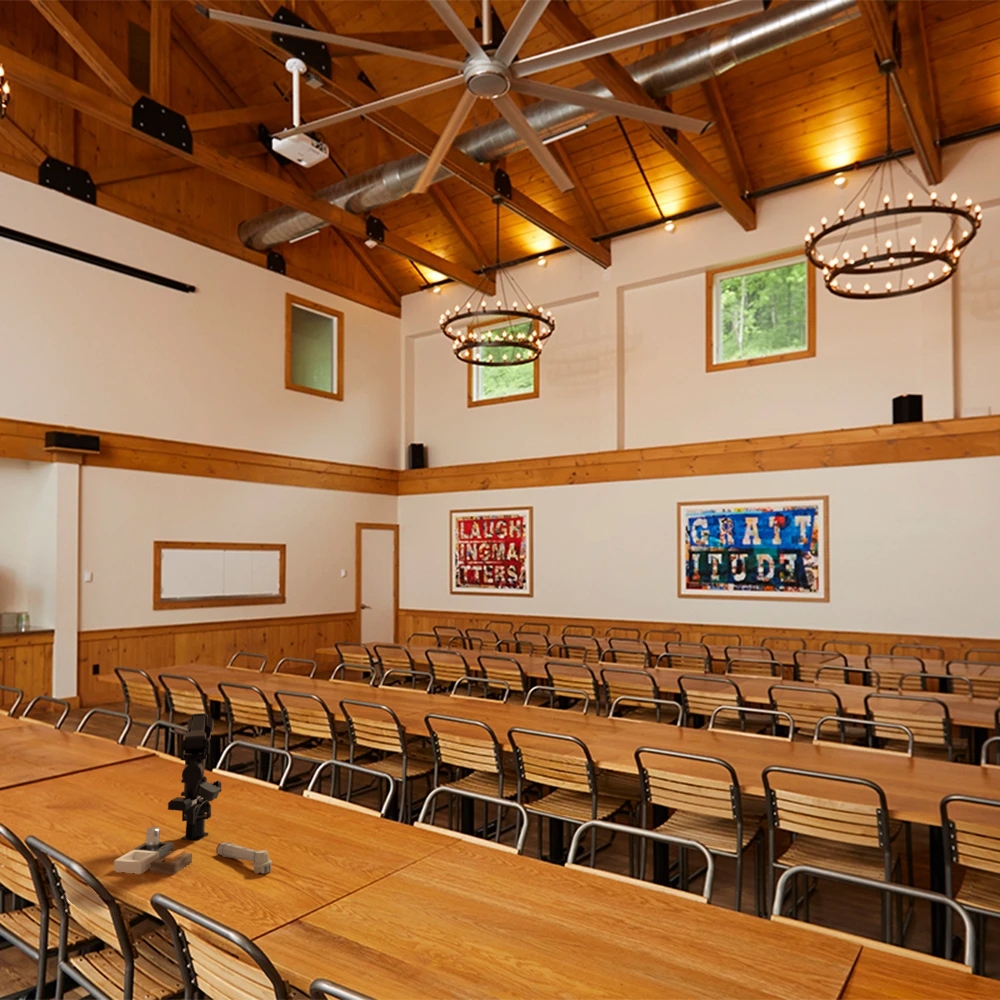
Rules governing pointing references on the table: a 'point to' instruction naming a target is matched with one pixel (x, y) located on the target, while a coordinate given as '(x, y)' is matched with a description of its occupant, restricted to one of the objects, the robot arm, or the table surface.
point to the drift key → (174, 855)
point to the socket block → (162, 850)
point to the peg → (152, 838)
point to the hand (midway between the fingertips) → (192, 824)
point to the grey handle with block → (246, 856)
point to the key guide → (170, 864)
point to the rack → (135, 861)
